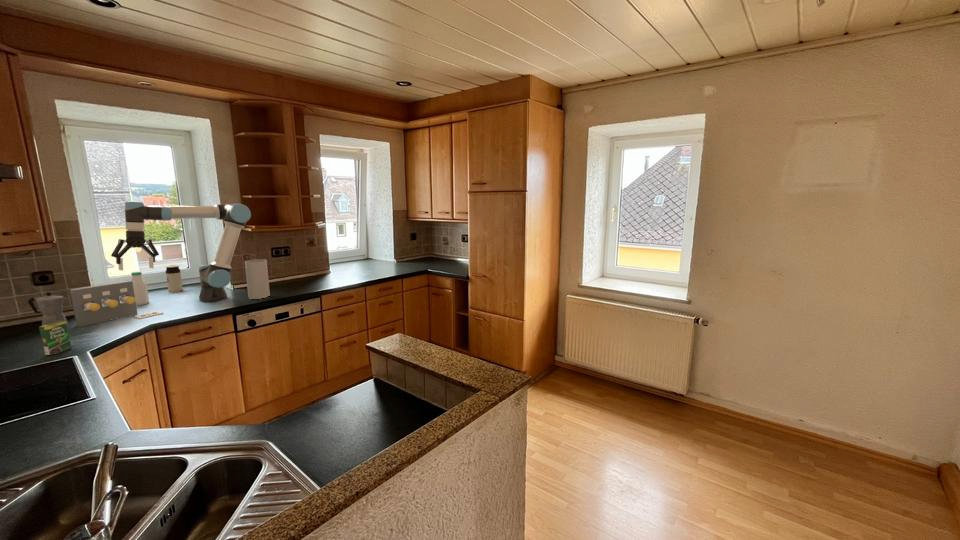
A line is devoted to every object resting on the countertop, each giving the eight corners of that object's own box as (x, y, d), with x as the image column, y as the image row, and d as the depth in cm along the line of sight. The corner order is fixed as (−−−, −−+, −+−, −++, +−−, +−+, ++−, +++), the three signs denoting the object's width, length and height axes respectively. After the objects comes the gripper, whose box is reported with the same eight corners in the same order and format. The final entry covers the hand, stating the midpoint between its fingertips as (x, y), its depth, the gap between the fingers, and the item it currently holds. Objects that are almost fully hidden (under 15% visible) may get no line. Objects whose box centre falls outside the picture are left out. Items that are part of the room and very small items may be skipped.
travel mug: (182, 289, 275) (179, 264, 272) (183, 291, 269) (179, 266, 266) (168, 290, 270) (164, 265, 267) (168, 292, 264) (165, 267, 261)
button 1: (100, 310, 197) (99, 302, 197) (90, 312, 194) (88, 304, 193) (93, 308, 200) (92, 300, 200) (83, 310, 197) (81, 302, 196)
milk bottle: (152, 302, 241) (148, 271, 237) (140, 305, 233) (135, 273, 230) (141, 301, 242) (136, 270, 238) (129, 305, 234) (124, 273, 230)
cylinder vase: (261, 300, 249) (257, 262, 244) (243, 299, 251) (240, 261, 246) (274, 295, 261) (271, 259, 256) (257, 294, 263) (254, 258, 258)
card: (163, 313, 219) (163, 312, 219) (140, 318, 209) (139, 317, 209) (157, 312, 221) (157, 310, 221) (134, 317, 212) (133, 316, 211)
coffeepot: (78, 322, 202) (71, 289, 198) (64, 328, 193) (57, 293, 189) (41, 324, 198) (34, 290, 194) (25, 330, 189) (17, 295, 186)
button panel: (137, 314, 217) (132, 281, 213) (80, 326, 196) (73, 290, 192) (133, 313, 219) (128, 280, 215) (76, 325, 197) (69, 289, 194)
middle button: (118, 306, 204) (117, 299, 203) (109, 308, 201) (108, 300, 200) (111, 304, 207) (110, 297, 206) (102, 306, 204) (100, 299, 203)
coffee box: (49, 356, 160) (43, 326, 158) (44, 356, 161) (37, 326, 158) (72, 349, 168) (67, 320, 165) (67, 348, 168) (61, 320, 166)
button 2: (136, 303, 211) (134, 296, 210) (127, 304, 207) (125, 297, 207) (128, 301, 214) (127, 294, 213) (119, 303, 210) (118, 296, 210)
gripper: (158, 230, 220) (159, 266, 223) (101, 229, 197) (103, 270, 200) (165, 231, 217) (166, 268, 220) (109, 230, 194) (110, 271, 197)
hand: (136, 269), depth 210 cm, fingers open, 13 cm apart
